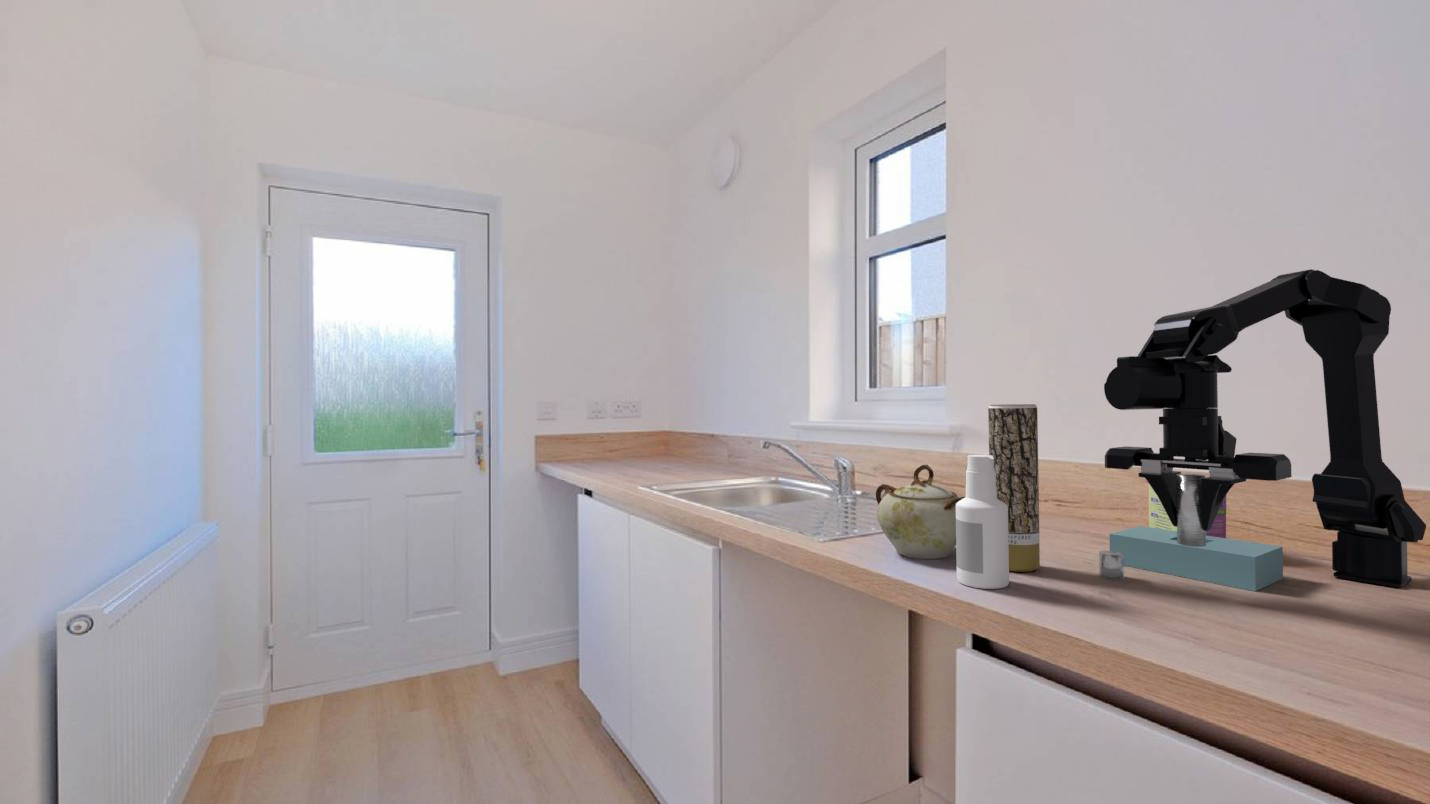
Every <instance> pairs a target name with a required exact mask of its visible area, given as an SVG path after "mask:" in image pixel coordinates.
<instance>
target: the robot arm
mask: <svg viewBox="0 0 1430 804" xmlns="http://www.w3.org/2000/svg"><path fill="white" fill-rule="evenodd" d="M1391 311H1392V307H1391V303H1390V301H1389V299H1388V298H1387V297H1386V296H1384V295H1383V294H1380V292H1379V291H1377V290H1375V289H1374V288H1373V289H1372V288H1370V287H1368V286H1367V285H1365V284H1364V283H1363V284H1362V283H1359V282H1355V281H1350V280H1345V279H1341V278H1337V277H1333V276H1330V275H1329V274H1327V273H1326V272H1324V271H1322V270H1318V269H1306V270H1305V269H1304V270H1300V271H1296V272H1295V271H1294V272H1291V273H1290V272H1288V273H1284V274H1280V275H1277V276H1275V277H1274V278H1273V279H1271V280H1270V281H1267V282H1265V283H1263V284H1260V285H1258V286H1256V287H1253V288H1251V289H1249V290H1247V291H1245V292H1242V293H1239V294H1237V295H1235V296H1232V297H1231V298H1228V299H1226V300H1223V301H1221V302H1218V303H1217V304H1216V303H1215V304H1213V305H1212V306H1209V307H1204V308H1198V309H1194V310H1193V309H1192V310H1187V311H1183V312H1178V313H1174V314H1173V313H1172V314H1167V315H1164V316H1162V317H1160V318H1158V319H1157V320H1156V321H1155V322H1154V324H1153V325H1154V328H1153V331H1152V332H1151V334H1150V336H1149V337H1148V339H1147V341H1146V342H1145V344H1143V346H1142V348H1141V349H1140V352H1139V353H1138V354H1137V356H1131V355H1130V356H1122V357H1121V356H1120V357H1117V358H1116V366H1115V367H1114V368H1113V369H1112V370H1111V371H1110V372H1109V373H1108V376H1107V377H1106V381H1105V382H1104V384H1103V386H1104V387H1103V390H1104V391H1103V392H1104V395H1105V398H1106V401H1107V402H1108V404H1109V405H1111V406H1112V407H1113V408H1114V409H1116V410H1121V411H1127V410H1129V411H1130V410H1162V416H1158V425H1162V432H1163V433H1162V437H1163V441H1162V442H1163V446H1162V447H1159V449H1158V451H1159V452H1154V450H1153V448H1152V447H1145V446H1143V447H1142V446H1118V447H1116V446H1115V447H1110V448H1109V449H1108V450H1107V451H1106V452H1105V454H1104V468H1106V469H1116V470H1130V469H1131V468H1132V467H1133V466H1134V467H1140V469H1141V471H1140V472H1138V473H1137V475H1138V477H1139V478H1144V479H1145V480H1146V481H1147V483H1148V485H1149V484H1150V486H1151V487H1152V489H1153V490H1154V492H1155V493H1156V495H1157V496H1158V498H1159V500H1160V501H1161V503H1162V505H1163V507H1164V509H1165V511H1166V513H1167V515H1168V517H1169V519H1170V521H1171V523H1172V524H1173V526H1175V527H1177V488H1176V474H1182V472H1181V471H1178V470H1177V471H1176V470H1173V469H1187V470H1189V469H1190V470H1200V471H1202V470H1203V471H1208V474H1209V476H1207V477H1205V478H1201V519H1202V525H1203V530H1204V531H1208V530H1210V529H1211V527H1212V524H1213V522H1214V520H1215V517H1216V515H1217V513H1218V510H1219V508H1220V506H1221V504H1222V501H1223V499H1224V498H1225V496H1226V497H1227V494H1228V493H1229V491H1230V490H1231V488H1233V487H1234V485H1235V484H1239V483H1245V482H1246V481H1247V480H1256V481H1257V480H1258V481H1268V482H1269V481H1270V482H1271V481H1275V482H1276V481H1281V480H1285V479H1289V478H1292V463H1291V460H1290V458H1289V457H1288V456H1286V455H1285V454H1284V453H1264V452H1263V453H1262V452H1243V453H1238V454H1236V445H1237V437H1236V436H1234V435H1233V434H1231V432H1229V431H1228V430H1225V428H1224V426H1223V419H1222V415H1219V410H1218V409H1219V407H1218V406H1219V405H1218V404H1219V403H1218V401H1219V400H1218V399H1219V398H1218V397H1219V396H1218V394H1219V393H1218V374H1224V373H1225V374H1226V373H1231V372H1232V366H1230V365H1229V364H1228V363H1226V362H1224V361H1223V360H1222V359H1220V357H1219V356H1218V355H1217V354H1218V353H1220V352H1221V351H1222V350H1224V349H1225V348H1227V347H1228V346H1230V345H1232V344H1233V343H1234V342H1235V341H1236V340H1237V339H1238V337H1239V333H1240V332H1242V331H1243V330H1245V329H1246V328H1249V327H1252V326H1254V325H1255V324H1258V323H1260V322H1262V321H1265V320H1266V319H1269V318H1271V317H1273V316H1275V315H1278V314H1280V313H1282V312H1284V314H1285V317H1286V318H1287V319H1289V320H1291V321H1292V322H1294V323H1296V324H1298V325H1299V326H1301V327H1302V332H1303V336H1304V340H1305V342H1306V343H1307V344H1308V346H1309V347H1310V348H1311V349H1312V350H1313V351H1314V352H1315V354H1317V356H1319V357H1320V359H1321V362H1322V370H1323V371H1322V372H1323V374H1322V375H1323V383H1324V384H1323V385H1324V399H1325V409H1326V419H1327V420H1326V422H1327V433H1328V434H1327V435H1328V445H1329V455H1330V460H1329V462H1328V464H1327V465H1326V466H1325V468H1324V469H1323V471H1321V473H1314V474H1313V475H1312V478H1311V483H1312V488H1313V496H1312V502H1313V503H1315V506H1316V509H1317V511H1318V515H1319V517H1320V520H1321V523H1322V527H1323V530H1328V531H1336V535H1337V537H1336V538H1337V539H1335V540H1334V541H1332V542H1331V552H1332V553H1331V554H1332V555H1331V556H1332V558H1331V559H1332V560H1331V561H1332V563H1331V564H1332V566H1331V567H1332V570H1333V577H1335V578H1340V579H1346V580H1353V581H1358V582H1362V583H1363V582H1364V583H1370V584H1376V585H1382V586H1388V587H1395V588H1402V587H1403V586H1405V585H1406V584H1408V583H1409V582H1411V581H1412V578H1413V577H1412V576H1411V575H1408V543H1418V541H1423V539H1424V536H1425V533H1426V529H1427V524H1426V522H1424V520H1423V519H1422V518H1421V517H1420V516H1419V515H1418V514H1417V513H1416V511H1415V510H1414V509H1413V508H1412V506H1411V505H1410V504H1409V503H1408V502H1407V501H1406V499H1405V495H1404V490H1403V486H1402V482H1401V480H1400V479H1399V477H1397V476H1396V474H1394V472H1393V471H1392V470H1391V469H1390V468H1389V467H1388V465H1386V464H1385V462H1384V461H1383V457H1382V448H1381V446H1382V445H1381V433H1380V423H1379V409H1378V407H1379V406H1378V398H1377V384H1376V373H1375V371H1376V370H1375V361H1374V355H1375V353H1376V352H1377V351H1378V349H1379V348H1380V346H1381V345H1382V343H1383V342H1384V341H1385V340H1386V338H1387V337H1388V335H1389V331H1390V318H1391V317H1390V315H1391ZM1174 457H1178V458H1174ZM1179 457H1180V458H1179Z"/></svg>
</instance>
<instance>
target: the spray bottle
mask: <svg viewBox="0 0 1430 804" xmlns="http://www.w3.org/2000/svg"><path fill="white" fill-rule="evenodd" d="M965 481H966V482H965V496H964V497H965V498H963V499H962V500H960V501H958V502H957V503H956V546H955V547H956V549H955V551H956V552H955V553H956V554H955V555H956V556H955V557H956V578H957V581H958V582H959V583H960V584H962V585H965V586H967V587H970V588H974V589H975V588H976V589H983V590H996V589H997V590H999V589H1003V588H1006V587H1008V586H1009V583H1010V571H1009V541H1008V506H1007V505H1006V504H1005V503H1003V502H1002V501H1000V500H999V499H997V487H996V471H995V468H994V458H993V456H992V455H989V454H969V455H967V467H966V471H965Z"/></svg>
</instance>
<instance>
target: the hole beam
mask: <svg viewBox="0 0 1430 804" xmlns="http://www.w3.org/2000/svg"><path fill="white" fill-rule="evenodd" d="M1283 550H1284V549H1283V546H1281V545H1273V544H1267V543H1260V542H1253V541H1246V540H1239V539H1232V538H1227V537H1226V538H1220V537H1213V536H1206V546H1204V547H1194V546H1186V545H1181V544H1178V543H1177V531H1172V530H1165V529H1158V528H1151V527H1149V526H1143V525H1139V526H1135V527H1132V528H1128V529H1122V530H1119V531H1115V532H1112V533H1109V551H1115V552H1120V553H1123V554H1124V566H1126V567H1131V568H1135V569H1140V570H1145V569H1146V571H1152V572H1156V573H1160V572H1162V573H1161V574H1165V573H1166V575H1171V576H1176V577H1180V576H1182V578H1185V577H1186V579H1192V580H1197V581H1201V580H1202V581H1201V582H1205V583H1211V584H1217V585H1222V586H1228V587H1233V588H1236V589H1242V590H1247V591H1253V592H1257V591H1260V590H1261V589H1264V588H1265V587H1268V586H1270V585H1273V584H1274V583H1276V582H1279V581H1281V580H1283V578H1284V567H1283V566H1284V563H1283V562H1284V561H1283V558H1284V557H1283V556H1284V555H1283V554H1284V553H1283Z"/></svg>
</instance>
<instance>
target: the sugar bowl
mask: <svg viewBox="0 0 1430 804" xmlns="http://www.w3.org/2000/svg"><path fill="white" fill-rule="evenodd" d="M923 470H926V471H927V472H928V478H927V480H926V479H925V480H923V479H922V480H920V478H919V474H920V473H922V471H923ZM933 481H934V471H933V469H932V467H931V466H930V465H928V464H922V465H920V466H919V467H917V468H916V469H915V470H914V472H913V481H912V482H911V483H909V484H906V485H905V484H904V485H902V486H899V487H894V486H891V485H889V484H886V483H885V484H884V483H882V484H880V485H879V486H877V488H876V491H875V498H876V502H877V504H878V506H877V510H876V517H877V522H878V525H879V527H880V529H881V531H882V532H883V534H884V535H885V537H886V538H887V539H888V541H890V543H891V544H892V545H893V548H894V549H895V550H896V552H897V553H898V554H899V555H902V556H905V557H907V558H912V559H921V560H922V559H923V560H934V559H935V560H937V559H938V560H939V559H943V558H947V557H949V556H950V555H951V553H952V551H953V550H954V549H955V547H956V503H957V502H958V501H960V500H962V499H963V498H965V497H966V496H961V497H960V496H958V494H957V493H956V492H953V491H951V490H948V489H947V488H945V487H943V486H940V485H936V484H933ZM883 491H884V492H883ZM882 492H883V494H882Z"/></svg>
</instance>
